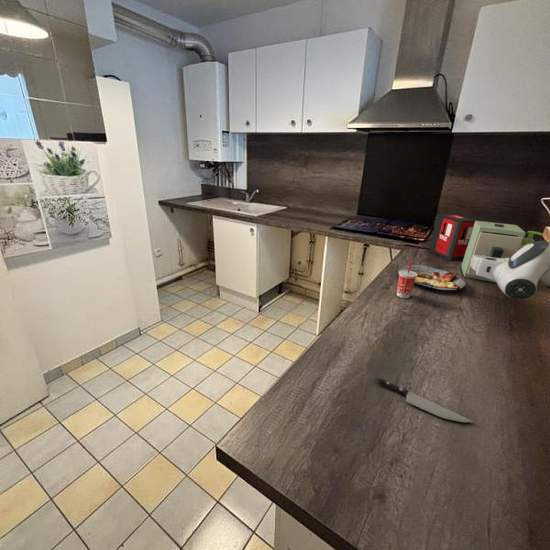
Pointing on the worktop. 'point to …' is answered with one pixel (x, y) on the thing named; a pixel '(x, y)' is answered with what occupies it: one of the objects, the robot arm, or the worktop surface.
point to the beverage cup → (406, 282)
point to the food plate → (436, 278)
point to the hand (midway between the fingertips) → (500, 259)
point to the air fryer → (492, 229)
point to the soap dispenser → (530, 237)
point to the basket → (495, 246)
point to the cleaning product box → (451, 236)
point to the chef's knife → (426, 404)
